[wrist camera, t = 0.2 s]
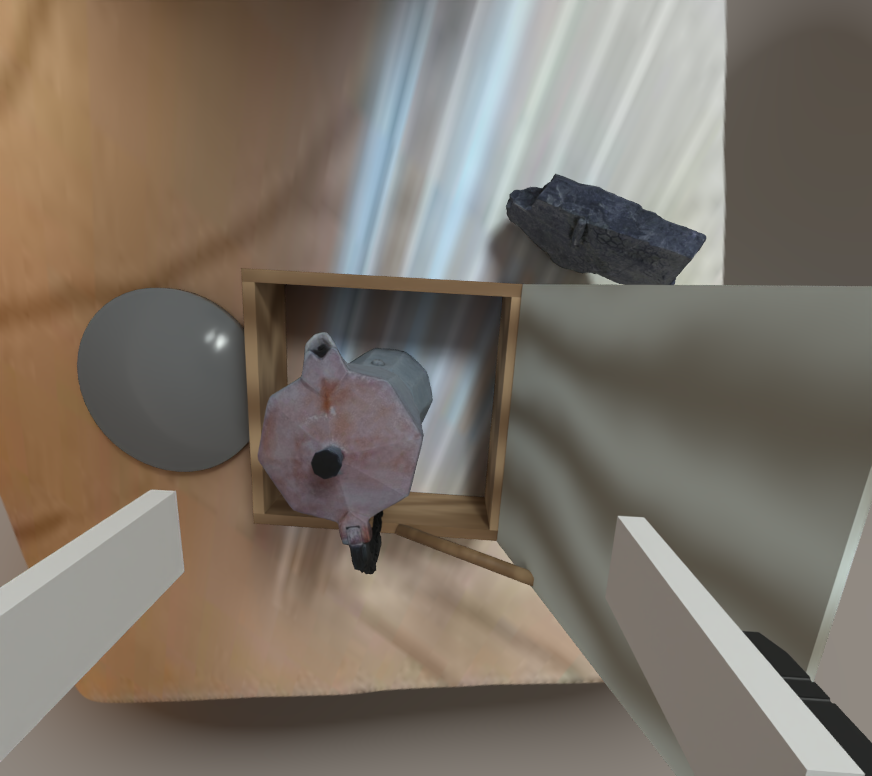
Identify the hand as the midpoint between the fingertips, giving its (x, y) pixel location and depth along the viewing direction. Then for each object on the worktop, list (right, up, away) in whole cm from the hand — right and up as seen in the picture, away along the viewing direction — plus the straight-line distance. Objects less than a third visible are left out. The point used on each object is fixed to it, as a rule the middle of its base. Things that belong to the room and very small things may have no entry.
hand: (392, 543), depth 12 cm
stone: (+14, +17, +24) cm, 33 cm away
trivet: (-24, +5, +28) cm, 38 cm away
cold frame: (+1, +4, +28) cm, 28 cm away
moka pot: (-3, +4, +28) cm, 29 cm away
